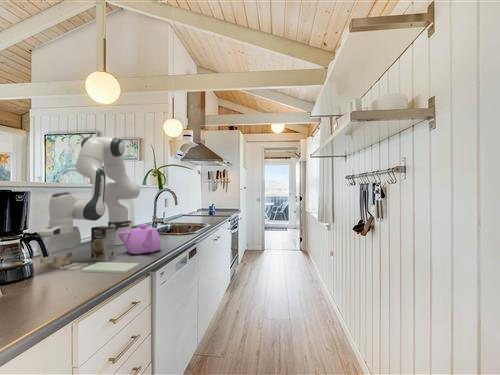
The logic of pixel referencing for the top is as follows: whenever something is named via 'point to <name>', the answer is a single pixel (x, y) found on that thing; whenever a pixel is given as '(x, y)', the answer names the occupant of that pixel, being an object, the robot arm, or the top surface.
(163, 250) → the top surface
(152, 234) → the teapot
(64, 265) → the turner
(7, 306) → the top surface
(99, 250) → the coffee box
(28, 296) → the top surface
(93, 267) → the board
